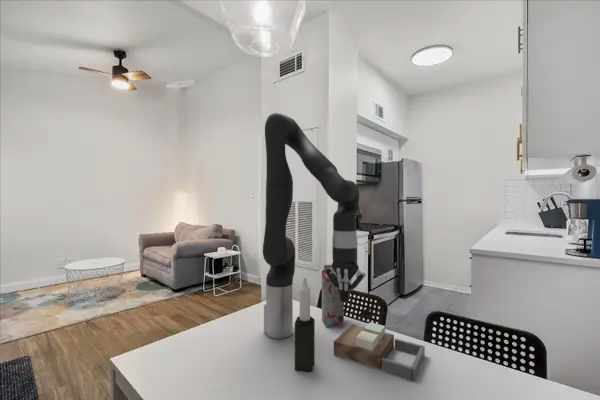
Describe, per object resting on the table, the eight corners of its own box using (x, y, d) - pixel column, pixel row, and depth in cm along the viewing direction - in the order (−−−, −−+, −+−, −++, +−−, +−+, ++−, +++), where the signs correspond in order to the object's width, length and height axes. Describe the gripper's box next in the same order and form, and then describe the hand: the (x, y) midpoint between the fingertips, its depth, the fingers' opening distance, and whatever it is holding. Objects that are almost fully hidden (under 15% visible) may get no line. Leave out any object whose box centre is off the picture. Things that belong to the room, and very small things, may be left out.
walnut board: (333, 354, 86) (333, 341, 85) (352, 335, 97) (352, 323, 97) (379, 369, 78) (379, 355, 78) (393, 347, 90) (393, 334, 90)
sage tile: (364, 336, 89) (364, 328, 89) (369, 329, 93) (369, 322, 93) (380, 340, 86) (380, 332, 86) (385, 333, 90) (385, 326, 90)
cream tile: (355, 345, 83) (355, 337, 83) (361, 338, 87) (361, 330, 87) (372, 351, 80) (372, 342, 80) (377, 343, 84) (378, 335, 84)
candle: (312, 373, 76) (312, 280, 76) (293, 370, 77) (293, 279, 77) (315, 362, 81) (315, 275, 81) (297, 360, 82) (297, 274, 82)
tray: (381, 370, 78) (381, 359, 78) (395, 347, 89) (395, 338, 89) (414, 381, 73) (414, 370, 73) (424, 356, 85) (424, 346, 85)
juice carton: (343, 326, 104) (343, 266, 104) (326, 327, 103) (326, 267, 103) (338, 318, 111) (338, 262, 110) (321, 319, 110) (321, 262, 109)
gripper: (319, 245, 88) (320, 301, 88) (360, 249, 80) (361, 310, 80) (330, 241, 94) (331, 294, 94) (369, 245, 87) (370, 302, 87)
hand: (345, 301), depth 87 cm, fingers closed
